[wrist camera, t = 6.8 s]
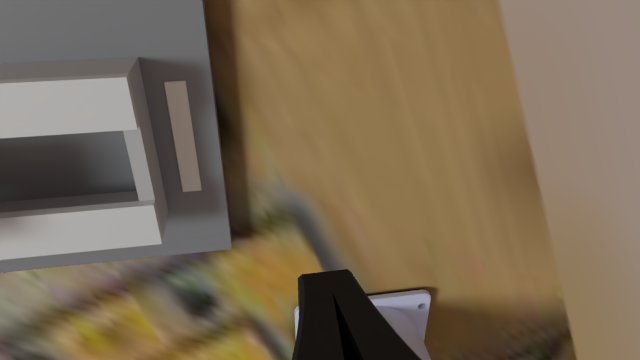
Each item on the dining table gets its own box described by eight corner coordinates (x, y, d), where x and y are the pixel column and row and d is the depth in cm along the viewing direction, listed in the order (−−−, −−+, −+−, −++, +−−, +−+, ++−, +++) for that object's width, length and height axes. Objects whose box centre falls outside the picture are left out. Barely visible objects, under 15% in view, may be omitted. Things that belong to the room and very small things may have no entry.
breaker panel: (231, 236, 24) (232, 282, 21) (-125, 271, 22) (-179, 329, 19) (201, -21, 18) (196, -5, 15) (-299, -9, 15) (-421, 12, 13)
